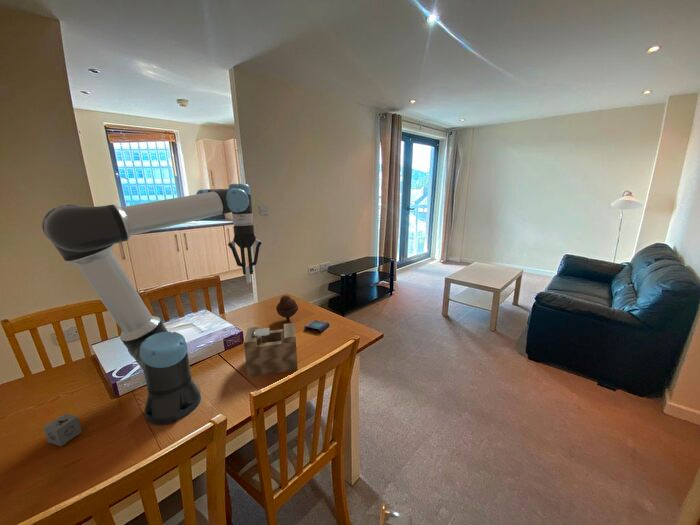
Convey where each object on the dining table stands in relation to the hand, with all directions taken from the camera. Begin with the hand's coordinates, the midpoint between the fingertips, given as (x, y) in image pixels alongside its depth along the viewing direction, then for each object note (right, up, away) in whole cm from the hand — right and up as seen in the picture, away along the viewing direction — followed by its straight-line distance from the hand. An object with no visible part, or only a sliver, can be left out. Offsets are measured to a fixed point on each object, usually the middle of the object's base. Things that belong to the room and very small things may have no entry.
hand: (249, 281), depth 121 cm
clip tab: (+8, -19, -11) cm, 23 cm away
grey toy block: (-37, -41, -39) cm, 68 cm away
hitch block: (+12, -32, -7) cm, 34 cm away
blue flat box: (+24, -27, +18) cm, 40 cm away
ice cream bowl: (+10, -24, +28) cm, 38 cm away
